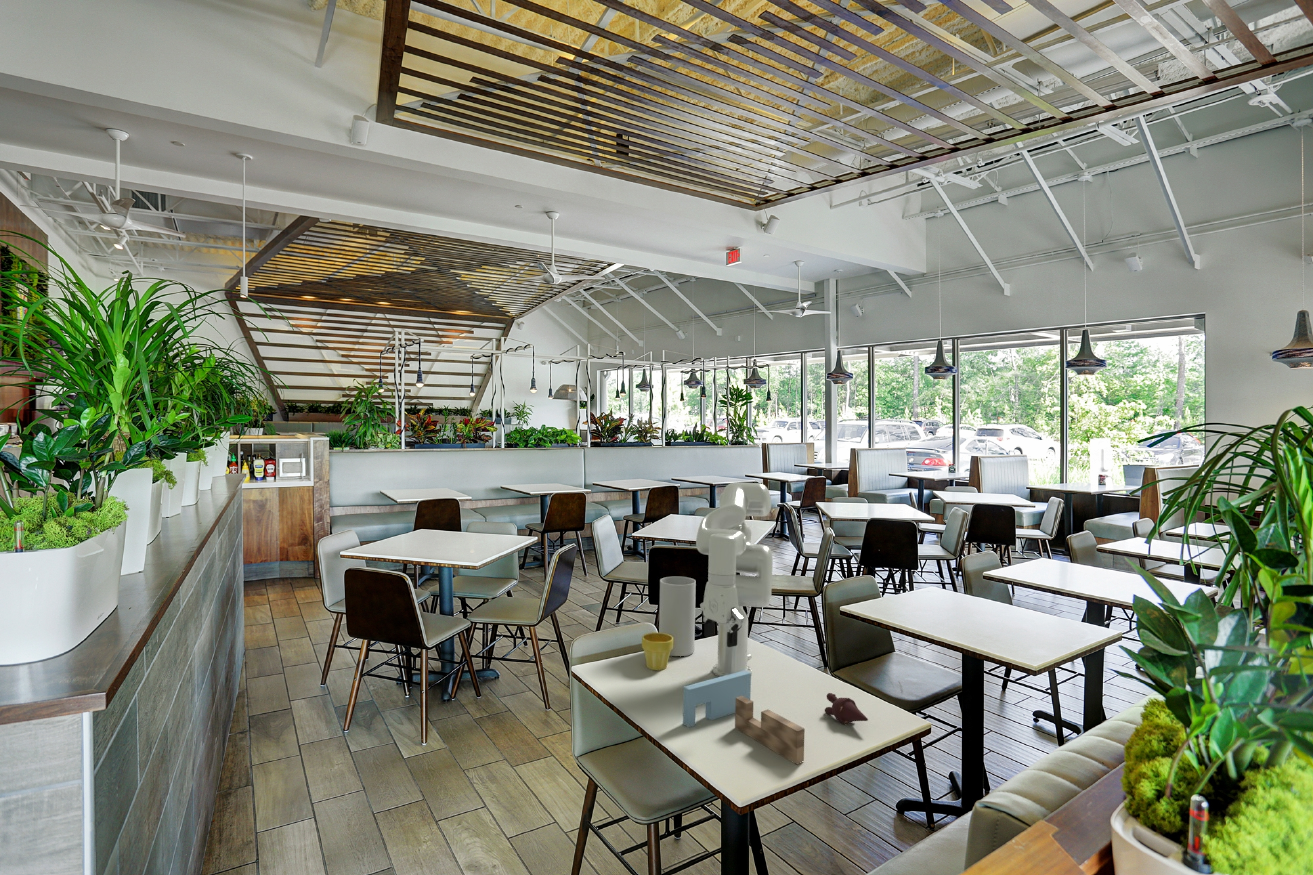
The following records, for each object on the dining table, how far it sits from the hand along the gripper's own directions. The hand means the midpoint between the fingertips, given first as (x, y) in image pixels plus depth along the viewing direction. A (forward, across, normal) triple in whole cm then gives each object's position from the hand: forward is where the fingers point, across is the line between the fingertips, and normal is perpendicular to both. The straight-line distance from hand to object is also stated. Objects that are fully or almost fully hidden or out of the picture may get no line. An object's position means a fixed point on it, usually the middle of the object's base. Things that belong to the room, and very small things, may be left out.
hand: (720, 641), depth 179 cm
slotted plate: (+20, 0, 0) cm, 21 cm away
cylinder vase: (+20, -47, +19) cm, 55 cm away
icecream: (+21, +22, +27) cm, 40 cm away
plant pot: (+20, -38, +5) cm, 44 cm away
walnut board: (+21, +19, 0) cm, 28 cm away
